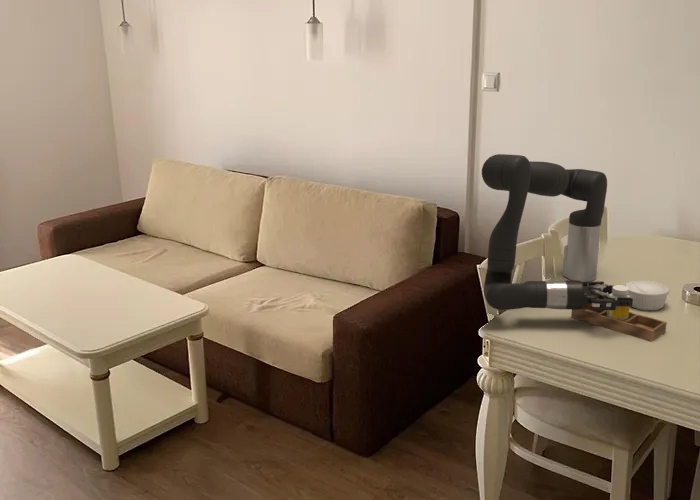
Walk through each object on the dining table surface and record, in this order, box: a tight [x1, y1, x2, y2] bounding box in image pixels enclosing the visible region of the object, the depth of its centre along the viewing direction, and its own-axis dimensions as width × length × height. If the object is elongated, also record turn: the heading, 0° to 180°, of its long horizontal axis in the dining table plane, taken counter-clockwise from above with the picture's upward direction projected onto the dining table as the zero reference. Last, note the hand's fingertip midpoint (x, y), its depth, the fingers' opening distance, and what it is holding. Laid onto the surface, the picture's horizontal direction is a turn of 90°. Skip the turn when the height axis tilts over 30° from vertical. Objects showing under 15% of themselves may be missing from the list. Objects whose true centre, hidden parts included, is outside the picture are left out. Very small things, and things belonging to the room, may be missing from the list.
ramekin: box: [624, 280, 670, 311], centre depth 198 cm, size 11×11×5 cm
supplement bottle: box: [606, 284, 630, 322], centre depth 184 cm, size 5×5×10 cm
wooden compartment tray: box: [570, 304, 667, 342], centre depth 185 cm, size 22×8×3 cm, turn 44°
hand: (627, 295), depth 183 cm, fingers open, 8 cm apart
